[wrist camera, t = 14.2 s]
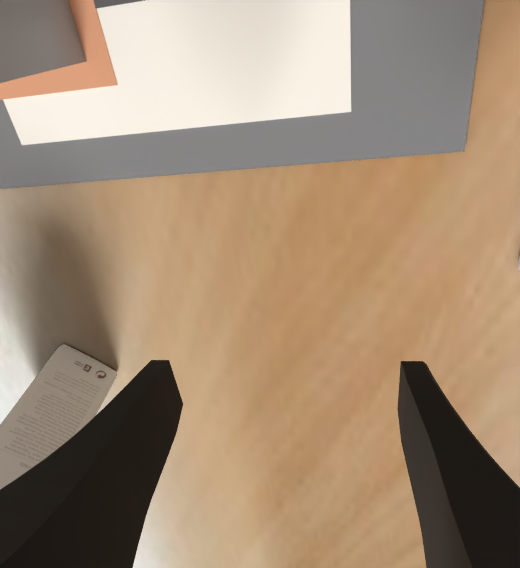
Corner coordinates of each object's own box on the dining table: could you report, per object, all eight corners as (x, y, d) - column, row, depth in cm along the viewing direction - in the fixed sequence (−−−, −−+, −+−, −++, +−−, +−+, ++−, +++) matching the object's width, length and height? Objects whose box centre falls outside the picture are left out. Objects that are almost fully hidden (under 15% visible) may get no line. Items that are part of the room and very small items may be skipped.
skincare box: (60, 339, 27) (-97, 535, 17) (124, 371, 28) (10, 576, 18) (37, 391, 31) (-106, 580, 21) (94, 418, 31) (-16, 613, 21)
